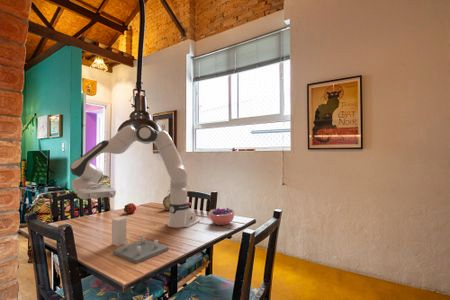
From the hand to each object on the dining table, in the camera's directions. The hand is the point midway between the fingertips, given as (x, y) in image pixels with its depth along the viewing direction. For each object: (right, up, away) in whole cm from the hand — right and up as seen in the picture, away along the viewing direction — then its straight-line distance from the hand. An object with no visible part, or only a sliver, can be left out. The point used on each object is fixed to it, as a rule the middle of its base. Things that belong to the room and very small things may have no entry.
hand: (105, 197), depth 136 cm
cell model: (+63, -24, +30) cm, 74 cm away
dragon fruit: (-8, -24, +57) cm, 62 cm away
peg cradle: (+25, -23, -17) cm, 38 cm away
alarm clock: (+20, -24, +68) cm, 74 cm away
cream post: (+11, -23, -7) cm, 26 cm away
